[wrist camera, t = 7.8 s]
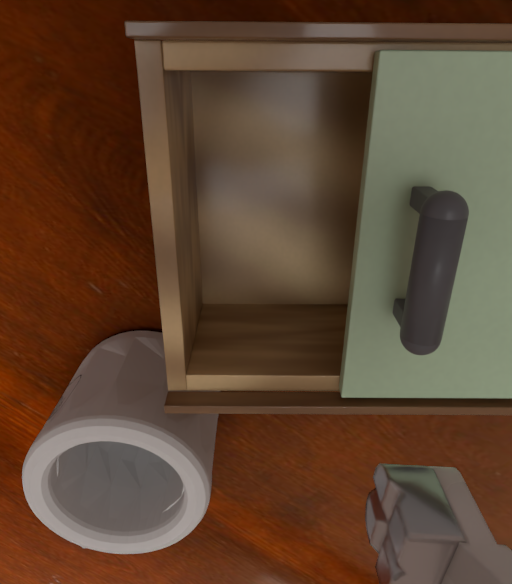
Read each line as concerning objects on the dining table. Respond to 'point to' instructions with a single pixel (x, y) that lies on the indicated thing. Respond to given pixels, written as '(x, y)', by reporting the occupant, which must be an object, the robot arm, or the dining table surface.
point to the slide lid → (433, 230)
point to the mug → (121, 454)
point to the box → (267, 204)
